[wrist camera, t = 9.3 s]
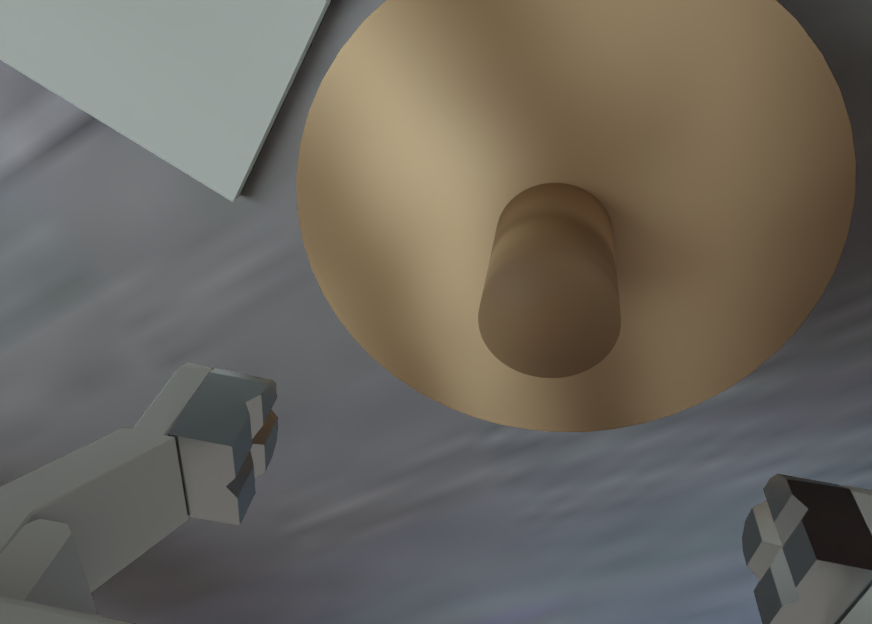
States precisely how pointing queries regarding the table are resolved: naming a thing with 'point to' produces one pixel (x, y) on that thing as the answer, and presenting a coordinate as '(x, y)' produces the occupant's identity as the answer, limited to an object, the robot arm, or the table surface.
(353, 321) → the lid
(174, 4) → the trivet
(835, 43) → the table surface
